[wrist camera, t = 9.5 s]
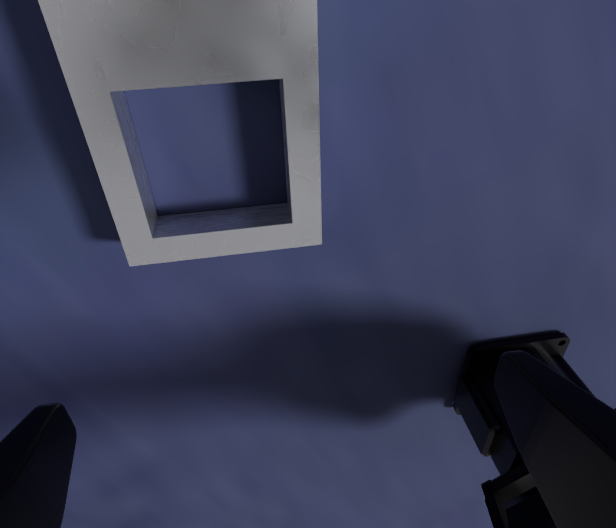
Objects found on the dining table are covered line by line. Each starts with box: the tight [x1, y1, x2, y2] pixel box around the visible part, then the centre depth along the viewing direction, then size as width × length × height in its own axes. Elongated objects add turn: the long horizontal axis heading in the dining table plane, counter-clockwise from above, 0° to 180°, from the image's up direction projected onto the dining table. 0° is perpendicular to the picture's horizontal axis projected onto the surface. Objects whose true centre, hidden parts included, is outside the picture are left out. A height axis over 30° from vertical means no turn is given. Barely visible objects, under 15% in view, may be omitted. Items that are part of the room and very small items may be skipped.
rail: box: [38, 0, 322, 266], centre depth 14 cm, size 8×18×2 cm, turn 2°
